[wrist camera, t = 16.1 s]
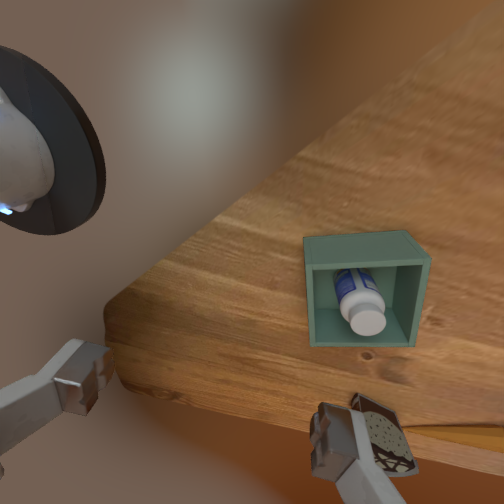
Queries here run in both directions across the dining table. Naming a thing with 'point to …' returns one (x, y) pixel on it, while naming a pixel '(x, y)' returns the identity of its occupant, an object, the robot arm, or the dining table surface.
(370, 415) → the food container
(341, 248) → the tub
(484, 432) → the carrot
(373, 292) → the pill bottle
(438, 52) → the dining table surface
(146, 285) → the dining table surface
